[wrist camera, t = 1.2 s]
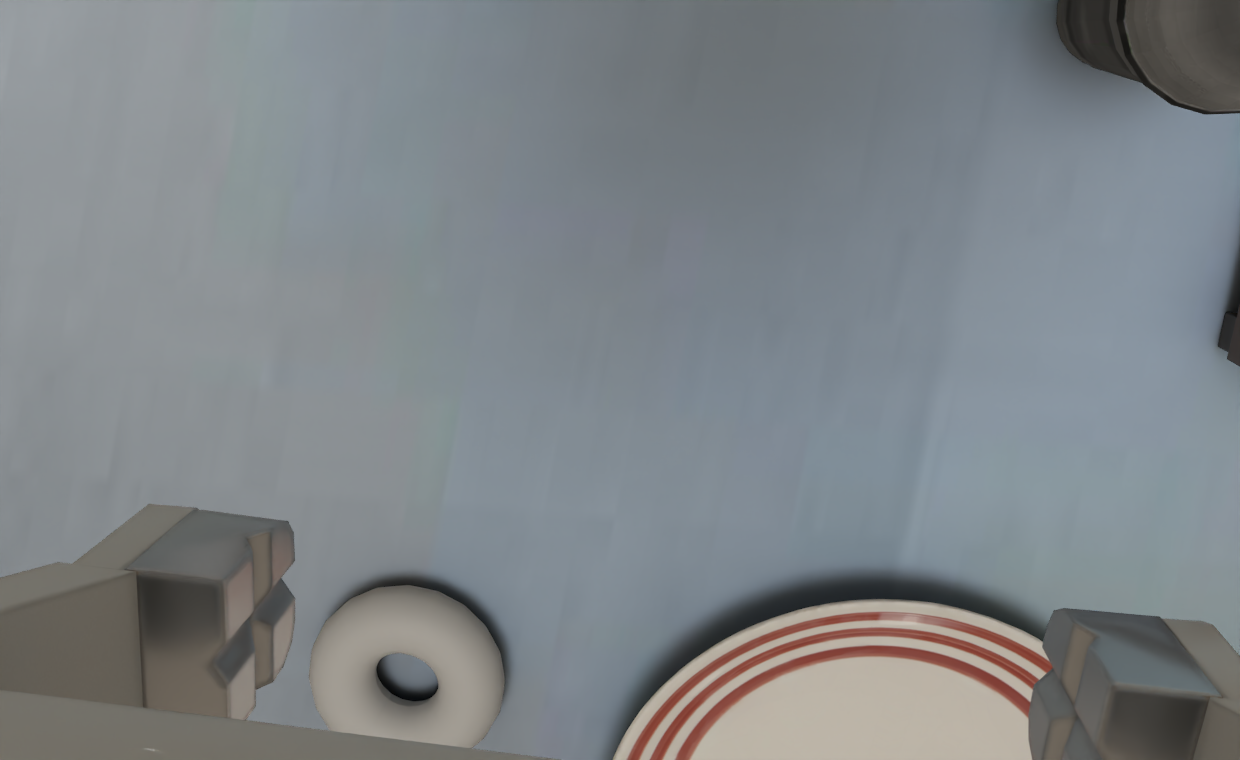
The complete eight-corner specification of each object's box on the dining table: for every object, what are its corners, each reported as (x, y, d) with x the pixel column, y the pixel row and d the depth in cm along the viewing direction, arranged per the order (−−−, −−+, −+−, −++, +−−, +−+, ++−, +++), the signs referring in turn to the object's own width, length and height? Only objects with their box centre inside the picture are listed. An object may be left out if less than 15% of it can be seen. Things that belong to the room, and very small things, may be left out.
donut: (535, 610, 56) (349, 546, 56) (525, 645, 53) (326, 577, 53) (478, 766, 59) (300, 706, 59) (465, 809, 56) (276, 745, 55)
